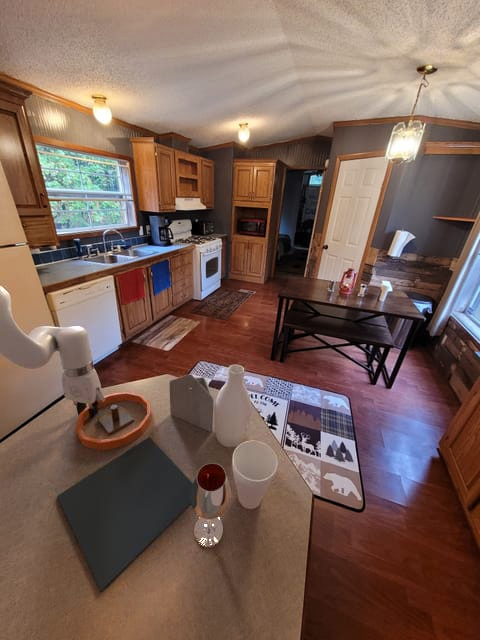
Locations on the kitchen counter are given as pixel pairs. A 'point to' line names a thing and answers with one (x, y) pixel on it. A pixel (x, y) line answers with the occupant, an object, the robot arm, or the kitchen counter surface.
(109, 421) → the peg
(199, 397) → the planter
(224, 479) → the wineglass
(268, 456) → the cup
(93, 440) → the hoop
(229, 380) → the bottle
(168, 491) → the mat
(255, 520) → the kitchen counter surface
